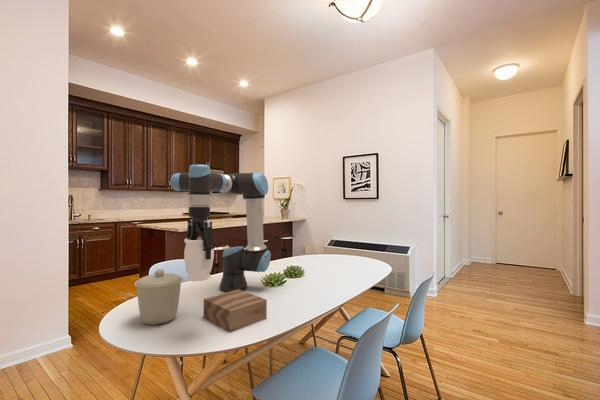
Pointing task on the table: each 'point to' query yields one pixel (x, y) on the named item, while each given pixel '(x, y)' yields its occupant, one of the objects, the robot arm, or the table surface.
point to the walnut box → (235, 309)
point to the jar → (196, 260)
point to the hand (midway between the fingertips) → (199, 265)
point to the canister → (158, 297)
